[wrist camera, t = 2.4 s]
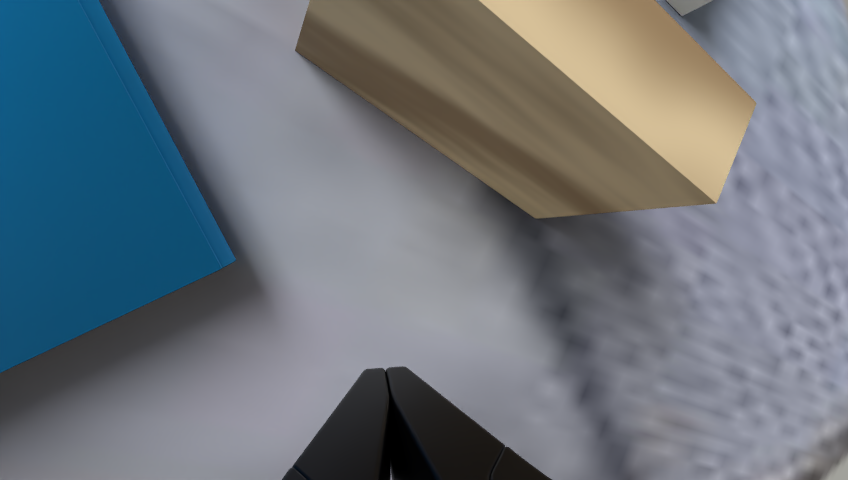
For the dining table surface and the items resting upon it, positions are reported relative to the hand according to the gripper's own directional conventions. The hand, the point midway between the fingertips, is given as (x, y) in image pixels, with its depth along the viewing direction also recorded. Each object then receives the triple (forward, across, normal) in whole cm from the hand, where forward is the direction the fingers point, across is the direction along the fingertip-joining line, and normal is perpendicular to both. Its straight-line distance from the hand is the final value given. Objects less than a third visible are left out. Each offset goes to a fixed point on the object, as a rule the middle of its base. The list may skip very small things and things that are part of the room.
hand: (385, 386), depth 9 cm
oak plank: (+15, +4, +3) cm, 16 cm away
